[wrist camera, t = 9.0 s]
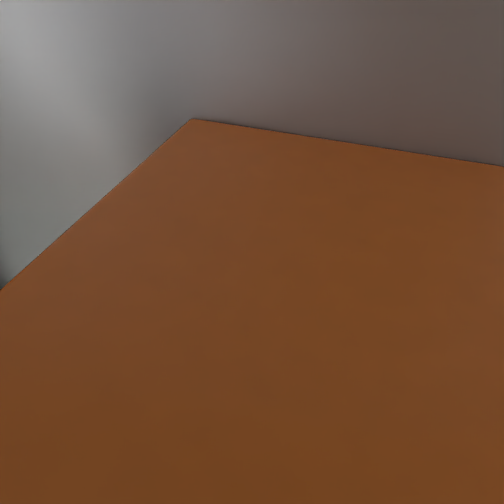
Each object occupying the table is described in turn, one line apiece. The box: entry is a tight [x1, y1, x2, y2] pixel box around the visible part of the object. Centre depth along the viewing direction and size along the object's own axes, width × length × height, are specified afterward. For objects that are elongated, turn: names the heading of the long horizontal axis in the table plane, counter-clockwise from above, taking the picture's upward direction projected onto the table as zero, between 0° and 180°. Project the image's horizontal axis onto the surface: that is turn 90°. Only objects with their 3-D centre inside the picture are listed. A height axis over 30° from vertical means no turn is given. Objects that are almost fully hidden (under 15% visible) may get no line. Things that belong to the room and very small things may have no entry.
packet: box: [0, 119, 504, 504], centre depth 7 cm, size 7×6×8 cm
